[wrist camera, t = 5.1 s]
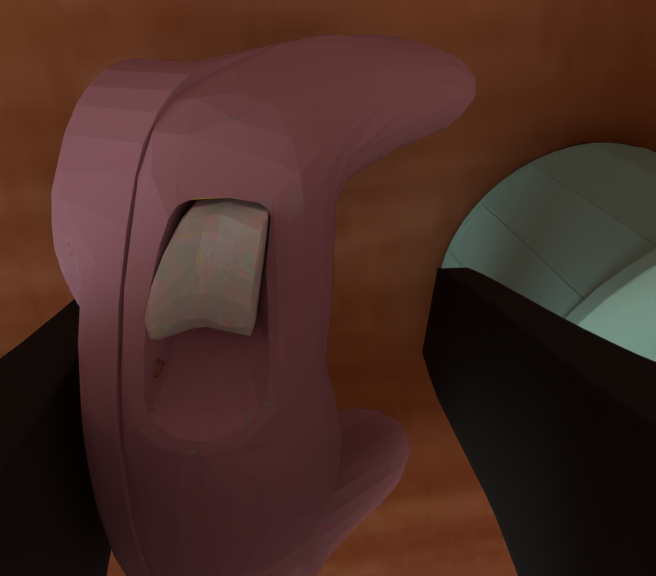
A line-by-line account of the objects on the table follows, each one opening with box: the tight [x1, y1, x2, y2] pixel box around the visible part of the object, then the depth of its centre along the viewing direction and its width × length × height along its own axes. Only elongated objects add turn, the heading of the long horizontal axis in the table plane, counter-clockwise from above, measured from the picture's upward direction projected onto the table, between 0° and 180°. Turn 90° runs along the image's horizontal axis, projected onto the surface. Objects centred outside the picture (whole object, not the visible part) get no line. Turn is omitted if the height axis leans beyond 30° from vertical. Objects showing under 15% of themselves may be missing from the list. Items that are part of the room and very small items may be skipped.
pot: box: [441, 143, 656, 319], centre depth 18 cm, size 10×10×7 cm
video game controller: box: [51, 35, 476, 576], centre depth 9 cm, size 10×5×7 cm, turn 177°
